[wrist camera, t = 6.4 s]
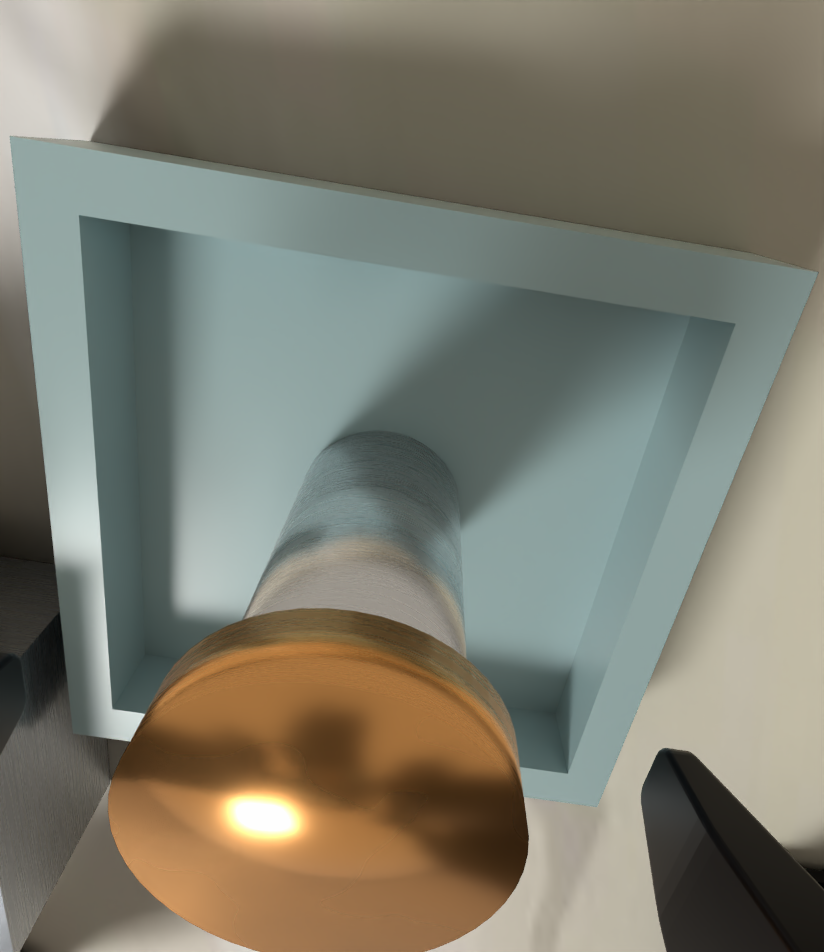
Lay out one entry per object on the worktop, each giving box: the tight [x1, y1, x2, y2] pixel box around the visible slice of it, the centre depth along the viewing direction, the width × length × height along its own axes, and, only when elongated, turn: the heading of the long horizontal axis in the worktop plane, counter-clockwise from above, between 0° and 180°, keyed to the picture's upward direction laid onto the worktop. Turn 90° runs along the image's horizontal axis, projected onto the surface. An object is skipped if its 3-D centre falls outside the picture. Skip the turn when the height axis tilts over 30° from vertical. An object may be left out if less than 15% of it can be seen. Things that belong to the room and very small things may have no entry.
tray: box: [10, 136, 819, 807], centre depth 14 cm, size 13×13×2 cm
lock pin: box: [108, 431, 529, 952], centre depth 11 cm, size 5×5×8 cm
